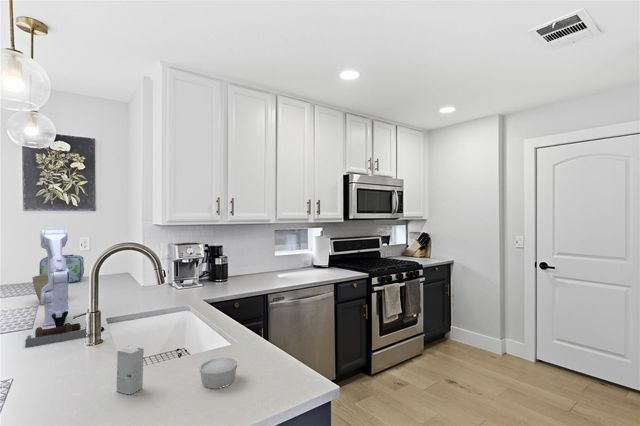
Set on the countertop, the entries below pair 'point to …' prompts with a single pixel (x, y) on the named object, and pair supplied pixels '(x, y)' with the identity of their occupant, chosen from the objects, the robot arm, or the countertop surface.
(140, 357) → the skincare box
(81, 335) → the bracket
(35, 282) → the plant pot
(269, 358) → the countertop surface
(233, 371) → the ramekin
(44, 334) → the bolt
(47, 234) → the robot arm
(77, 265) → the lunch box
